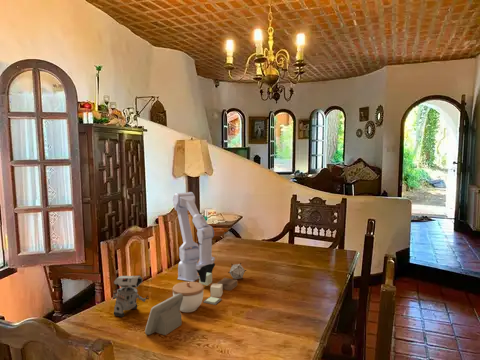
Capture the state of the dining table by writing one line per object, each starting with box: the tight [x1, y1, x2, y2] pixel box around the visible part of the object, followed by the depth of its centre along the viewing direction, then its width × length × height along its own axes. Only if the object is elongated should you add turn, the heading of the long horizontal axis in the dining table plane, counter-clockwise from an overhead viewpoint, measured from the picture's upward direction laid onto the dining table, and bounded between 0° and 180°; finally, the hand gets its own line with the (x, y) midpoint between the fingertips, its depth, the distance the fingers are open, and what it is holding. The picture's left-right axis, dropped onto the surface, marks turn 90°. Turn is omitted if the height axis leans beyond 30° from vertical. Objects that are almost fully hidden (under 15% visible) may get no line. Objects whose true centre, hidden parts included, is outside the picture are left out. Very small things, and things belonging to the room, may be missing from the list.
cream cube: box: [209, 282, 224, 298], centre depth 157 cm, size 4×4×4 cm
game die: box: [227, 262, 247, 280], centre depth 177 cm, size 9×8×10 cm
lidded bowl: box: [171, 281, 205, 313], centre depth 143 cm, size 13×13×11 cm
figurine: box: [112, 274, 149, 318], centre depth 139 cm, size 9×12×15 cm
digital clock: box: [144, 293, 183, 336], centre depth 127 cm, size 16×9×11 cm, turn 139°
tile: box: [202, 296, 223, 306], centre depth 150 cm, size 6×6×1 cm
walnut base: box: [216, 277, 238, 291], centre depth 167 cm, size 7×7×3 cm
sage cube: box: [198, 272, 213, 286], centre depth 166 cm, size 4×4×4 cm
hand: (205, 280), depth 166 cm, fingers closed on sage cube, 4 cm apart
